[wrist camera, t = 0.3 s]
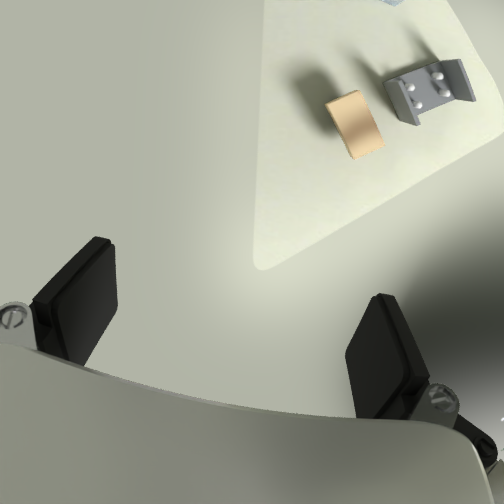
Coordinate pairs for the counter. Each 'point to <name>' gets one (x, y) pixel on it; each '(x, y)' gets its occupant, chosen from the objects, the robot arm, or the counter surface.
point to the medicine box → (393, 2)
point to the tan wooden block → (355, 124)
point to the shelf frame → (428, 89)
